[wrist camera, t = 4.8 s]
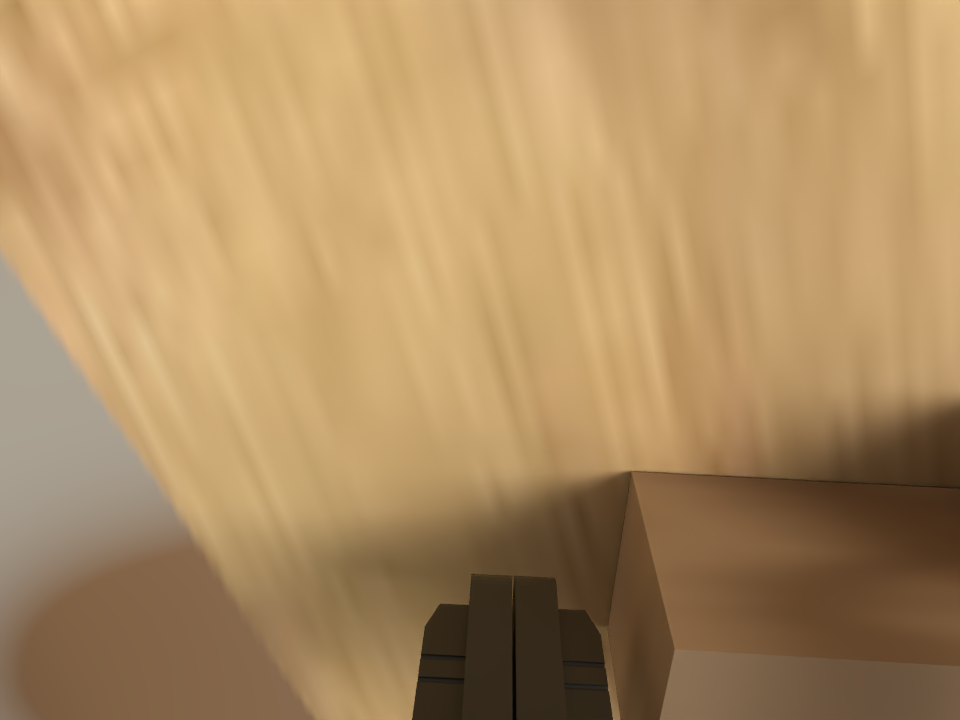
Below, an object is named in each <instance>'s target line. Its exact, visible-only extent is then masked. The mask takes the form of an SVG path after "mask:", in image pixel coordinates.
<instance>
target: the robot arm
mask: <svg viewBox="0 0 960 720" xmlns="http://www.w3.org/2000/svg"><path fill="white" fill-rule="evenodd" d="M604 663H605V662H604V655H603V648H602V641H601V635H600V633H599V632H598V630H597V629H596V627H595V625H594V624H593V622H592V621H591V619H590V618H589V616H588V614H587V613H586V611H585V610H566V609H558V601H557V588H556V580H555V578H547V577H526V576H514V587H513V603H512V576H500V575H479V574H471V587H470V601H469V605H456V604H440V605H439V606H438V608H437V609H436V611H435V612H434V614H433V615H432V617H431V618H430V620H429V621H428V623H427V624H426V626H425V630H424V637H423V645H422V652H421V659H420V666H419V674H418V682H417V688H416V696H415V703H414V710H413V718H412V720H613V717H612V710H611V703H610V696H609V691H608V683H607V676H606V669H605V666H604Z"/></svg>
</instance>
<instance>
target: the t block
mask: <svg viewBox="0 0 960 720" xmlns="http://www.w3.org/2000/svg"><path fill="white" fill-rule="evenodd" d="M608 634H609V641H610V648H611V655H612V662H613V669H614V676H615V683H616V690H617V697H618V704H619V711H620V718H621V720H960V489H955V488H936V487H917V486H897V485H878V484H859V483H840V482H820V481H801V480H782V479H762V478H743V477H724V476H704V475H685V474H666V473H646V472H631V479H630V485H629V492H628V498H627V505H626V512H625V518H624V525H623V532H622V538H621V545H620V551H619V558H618V565H617V571H616V578H615V584H614V591H613V598H612V604H611V611H610V618H609V624H608Z"/></svg>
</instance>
